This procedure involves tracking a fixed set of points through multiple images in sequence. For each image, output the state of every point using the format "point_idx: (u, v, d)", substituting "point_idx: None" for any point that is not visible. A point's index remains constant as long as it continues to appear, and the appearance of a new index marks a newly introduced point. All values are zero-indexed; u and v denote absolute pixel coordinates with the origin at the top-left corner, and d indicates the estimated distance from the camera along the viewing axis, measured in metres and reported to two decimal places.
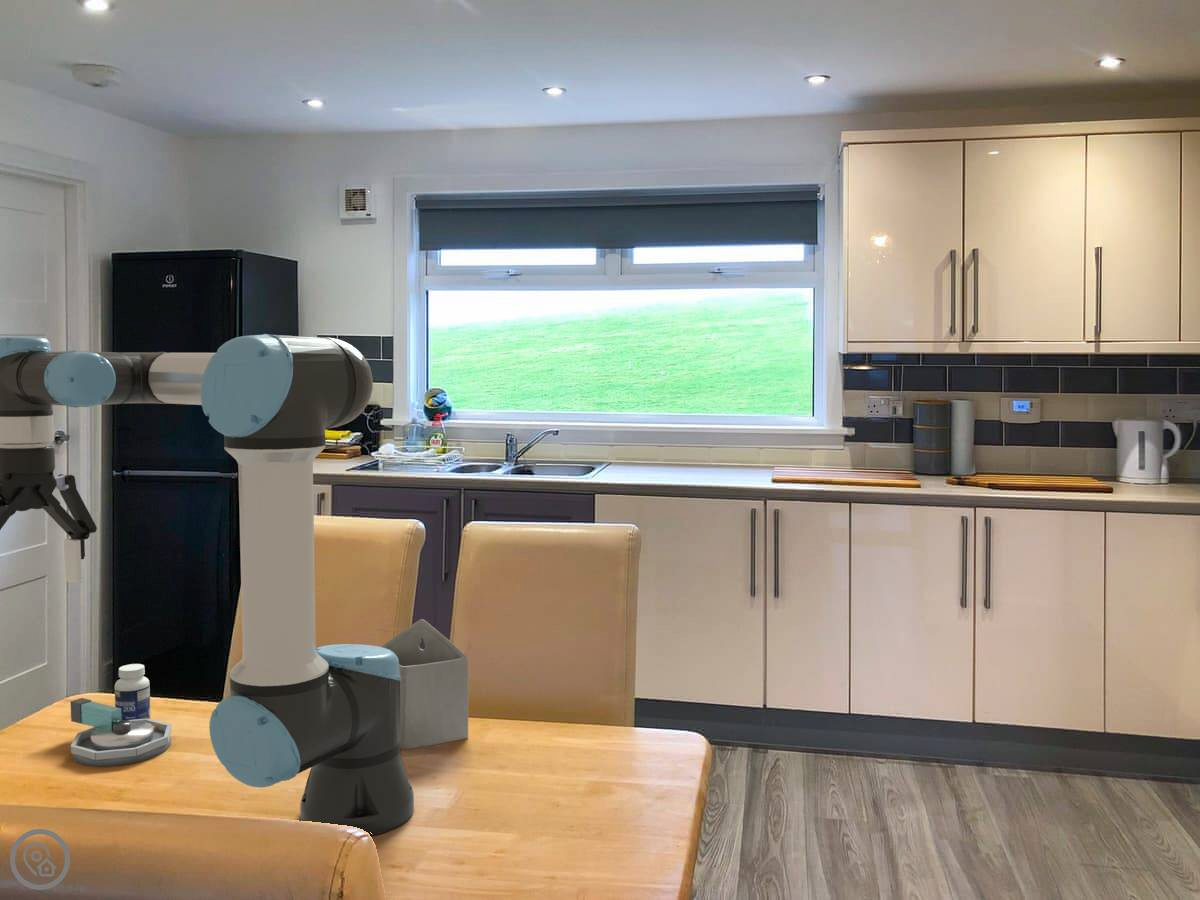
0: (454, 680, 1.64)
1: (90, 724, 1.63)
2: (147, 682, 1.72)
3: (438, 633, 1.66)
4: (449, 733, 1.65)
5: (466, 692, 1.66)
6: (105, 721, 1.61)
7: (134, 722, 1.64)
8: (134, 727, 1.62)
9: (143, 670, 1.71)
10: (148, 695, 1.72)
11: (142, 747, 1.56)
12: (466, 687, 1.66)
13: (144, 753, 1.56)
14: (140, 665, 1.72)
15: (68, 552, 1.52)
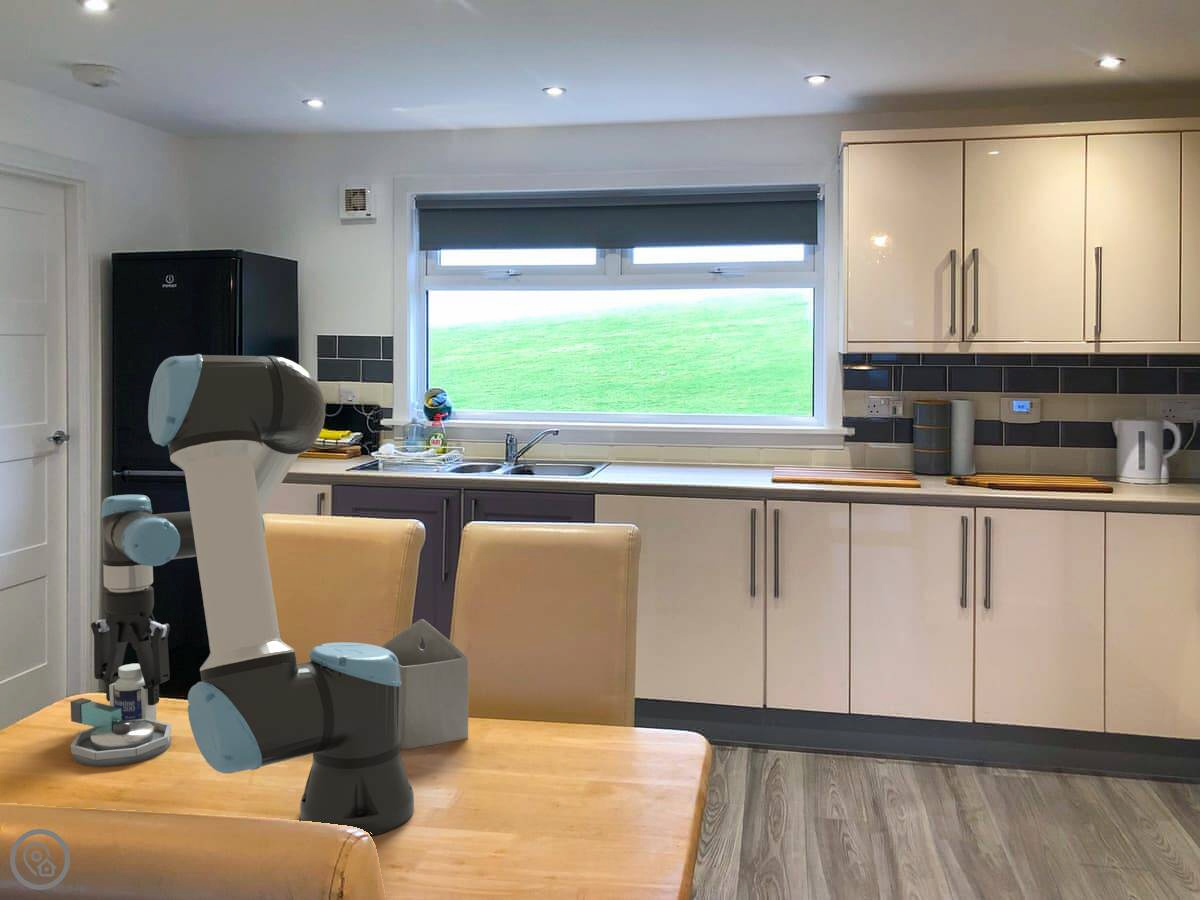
0: (454, 680, 1.64)
1: (90, 724, 1.63)
2: None
3: (438, 633, 1.66)
4: (449, 733, 1.65)
5: (466, 692, 1.66)
6: (105, 721, 1.61)
7: (134, 722, 1.64)
8: (134, 727, 1.62)
9: None
10: None
11: (142, 747, 1.56)
12: (466, 687, 1.66)
13: (144, 753, 1.56)
14: None
15: None
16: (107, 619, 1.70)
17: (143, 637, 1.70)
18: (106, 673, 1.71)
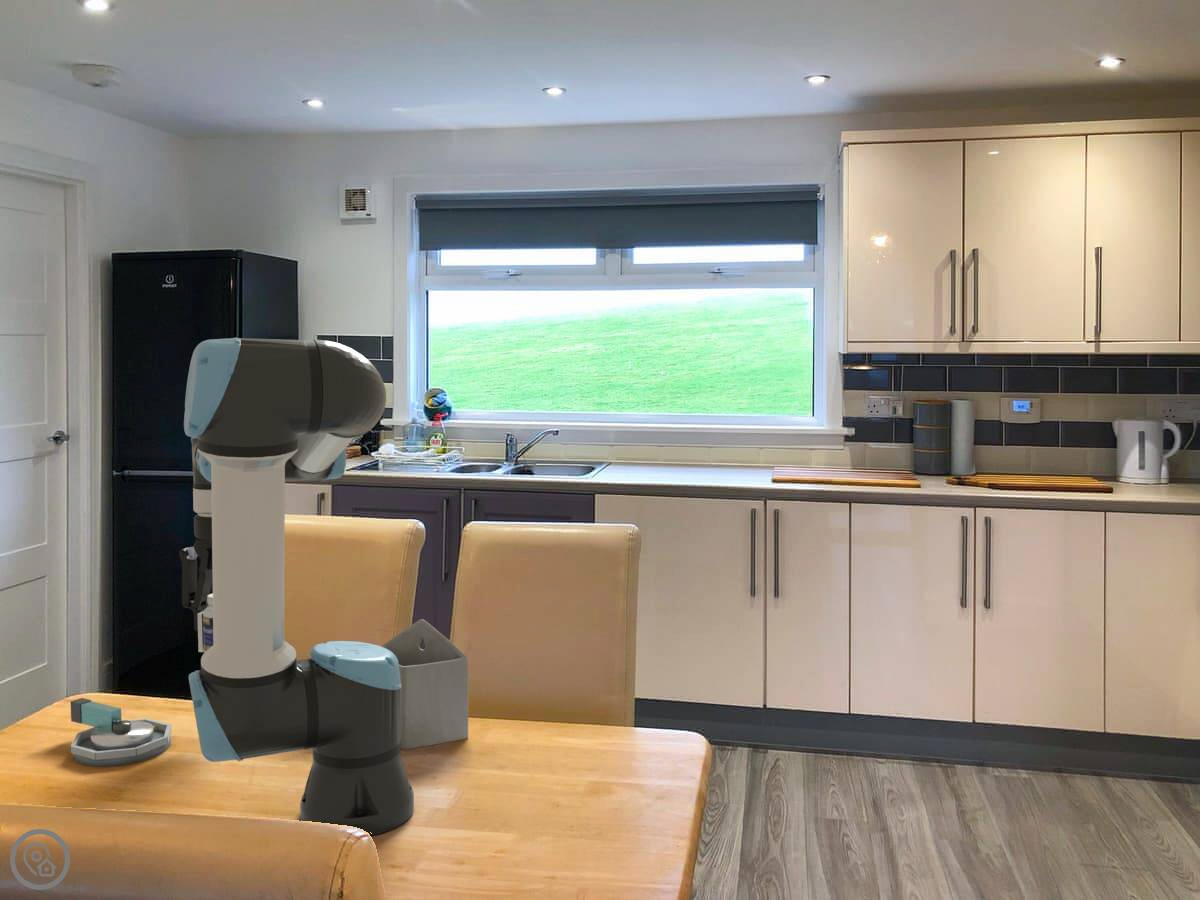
0: (454, 680, 1.64)
1: (90, 724, 1.63)
2: None
3: (438, 633, 1.66)
4: (449, 733, 1.65)
5: (466, 692, 1.66)
6: (105, 721, 1.61)
7: (134, 722, 1.64)
8: (134, 727, 1.62)
9: None
10: None
11: (142, 747, 1.56)
12: (466, 687, 1.66)
13: (144, 753, 1.56)
14: None
15: None
16: (196, 546, 1.67)
17: None
18: (194, 601, 1.68)
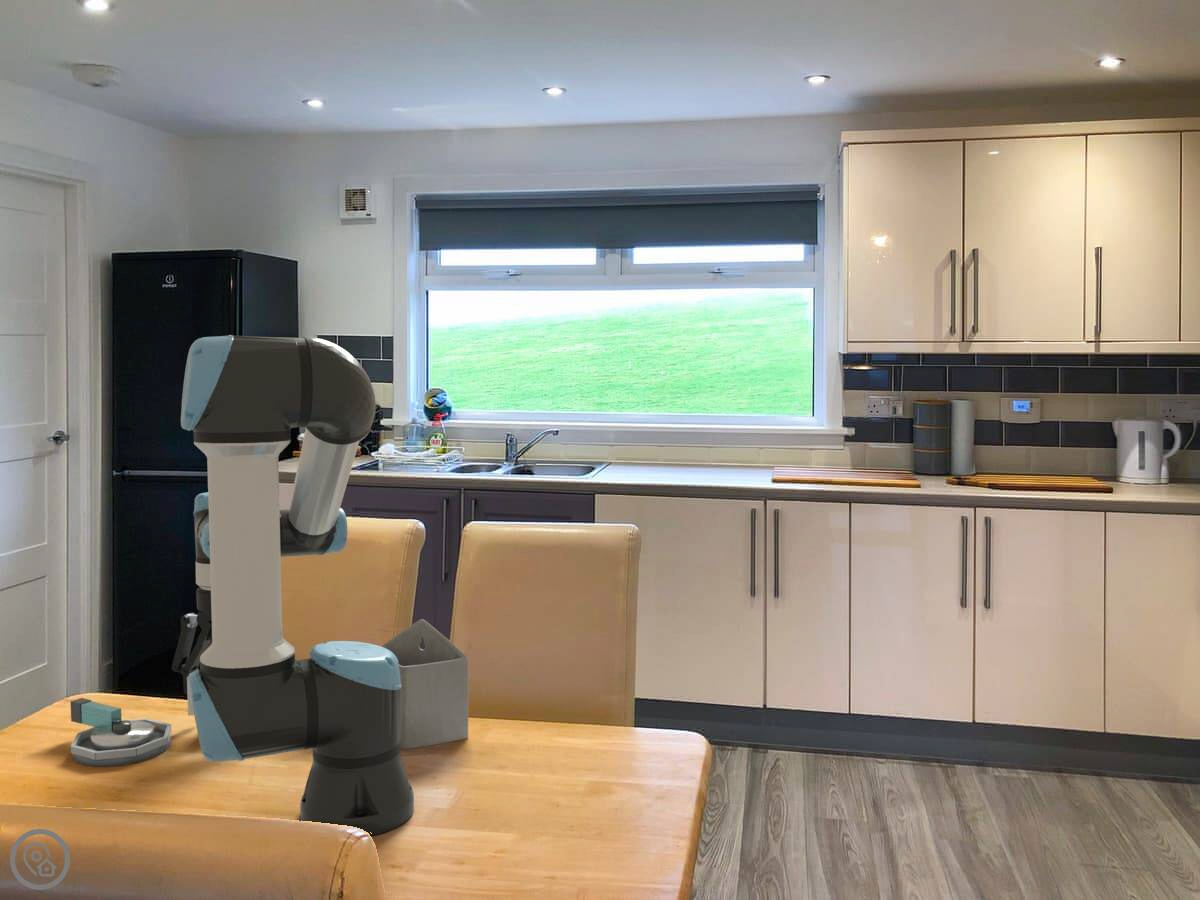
0: (454, 680, 1.64)
1: (90, 724, 1.63)
2: None
3: (438, 633, 1.66)
4: (449, 733, 1.65)
5: (466, 692, 1.66)
6: (105, 721, 1.61)
7: (134, 722, 1.64)
8: (134, 727, 1.62)
9: None
10: None
11: (142, 747, 1.56)
12: (466, 687, 1.66)
13: (144, 753, 1.56)
14: None
15: None
16: (199, 617, 1.68)
17: None
18: (185, 666, 1.69)
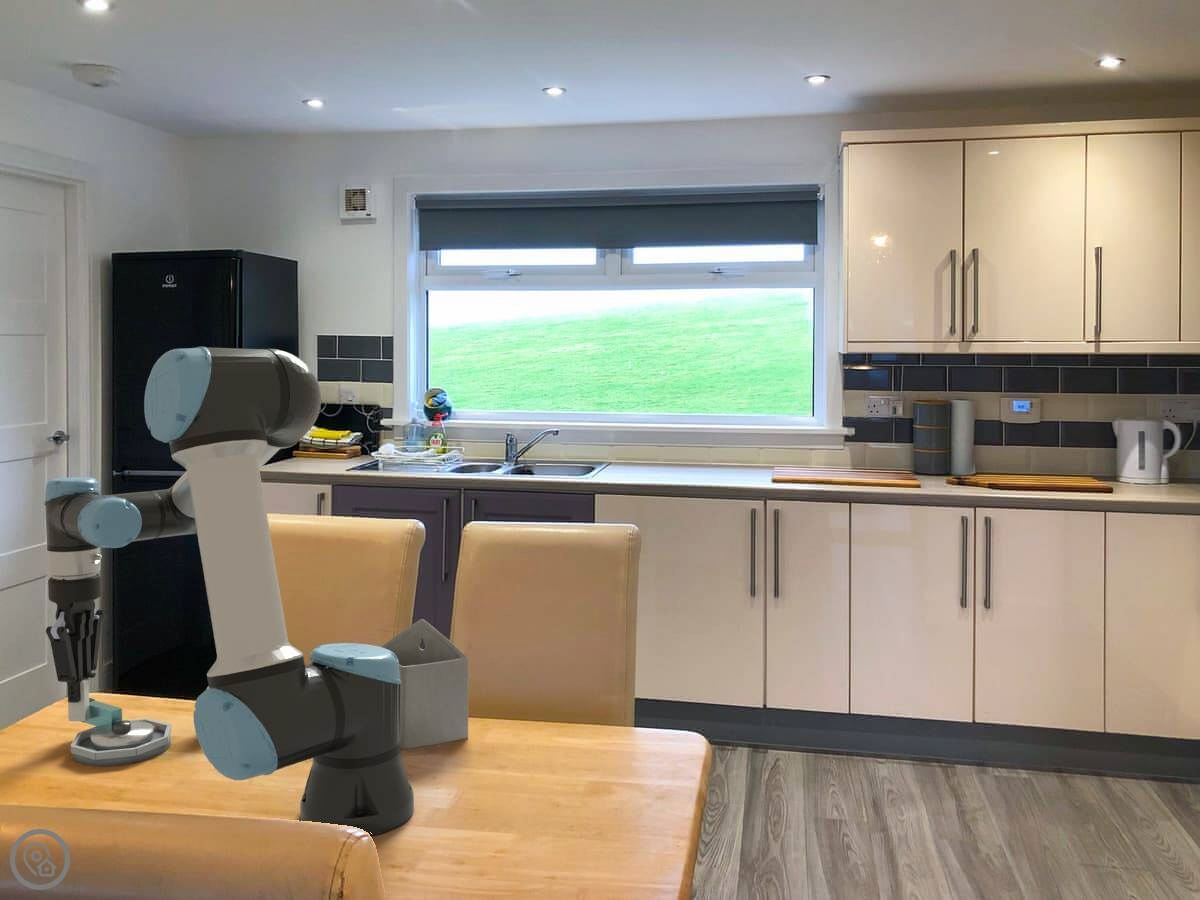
0: (454, 680, 1.64)
1: (92, 723, 1.63)
2: None
3: (438, 633, 1.66)
4: (449, 733, 1.65)
5: (466, 692, 1.66)
6: (106, 721, 1.61)
7: (135, 722, 1.64)
8: (134, 727, 1.62)
9: None
10: None
11: (142, 747, 1.56)
12: (466, 687, 1.66)
13: (144, 753, 1.56)
14: None
15: None
16: None
17: (67, 631, 1.59)
18: None
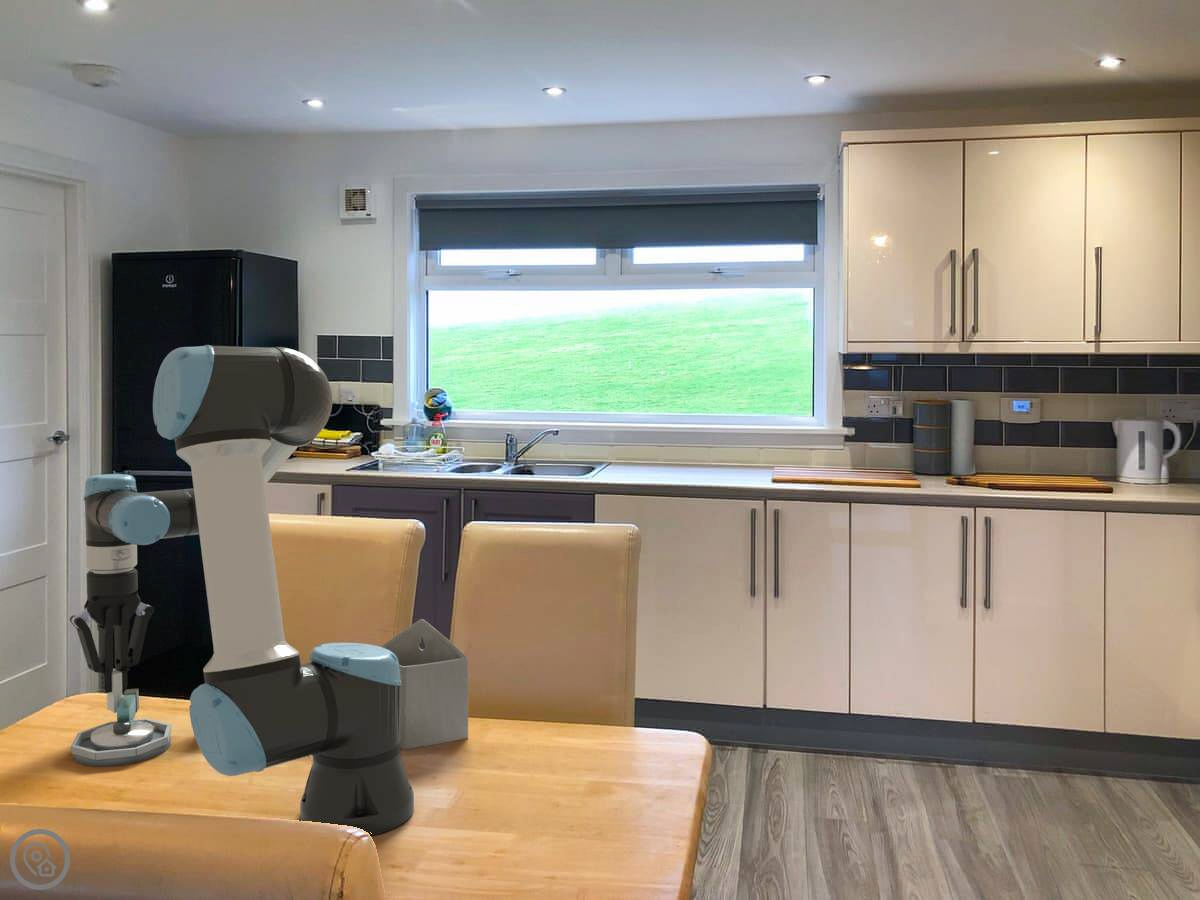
0: (454, 680, 1.64)
1: None
2: None
3: (438, 633, 1.66)
4: (449, 733, 1.65)
5: (466, 692, 1.66)
6: None
7: (147, 725, 1.63)
8: (136, 730, 1.61)
9: None
10: None
11: (142, 747, 1.56)
12: (466, 687, 1.66)
13: (144, 753, 1.56)
14: None
15: None
16: None
17: None
18: None
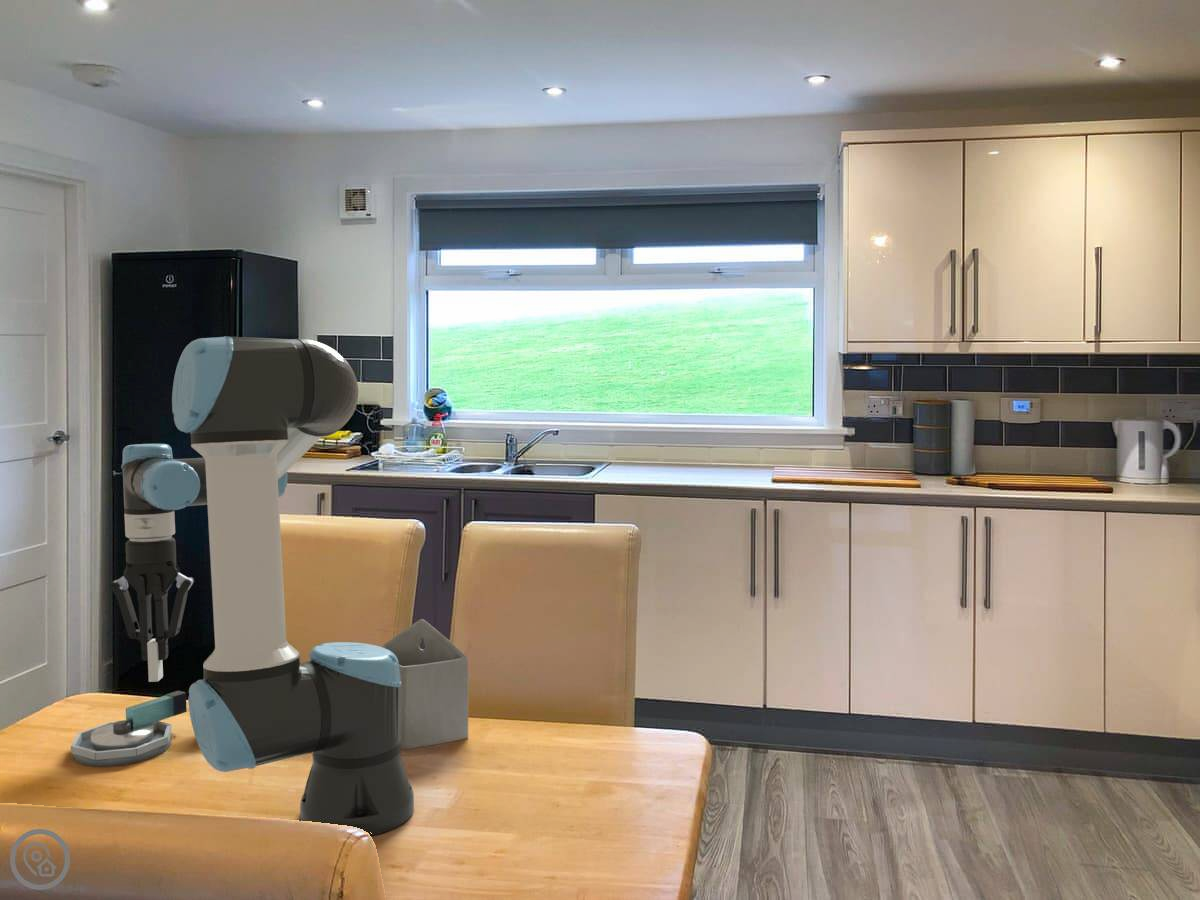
0: (454, 680, 1.64)
1: None
2: None
3: (438, 633, 1.66)
4: (449, 733, 1.65)
5: (466, 692, 1.66)
6: None
7: (145, 732, 1.60)
8: (130, 733, 1.59)
9: None
10: None
11: (142, 747, 1.56)
12: (466, 687, 1.66)
13: (144, 753, 1.56)
14: None
15: None
16: None
17: None
18: None
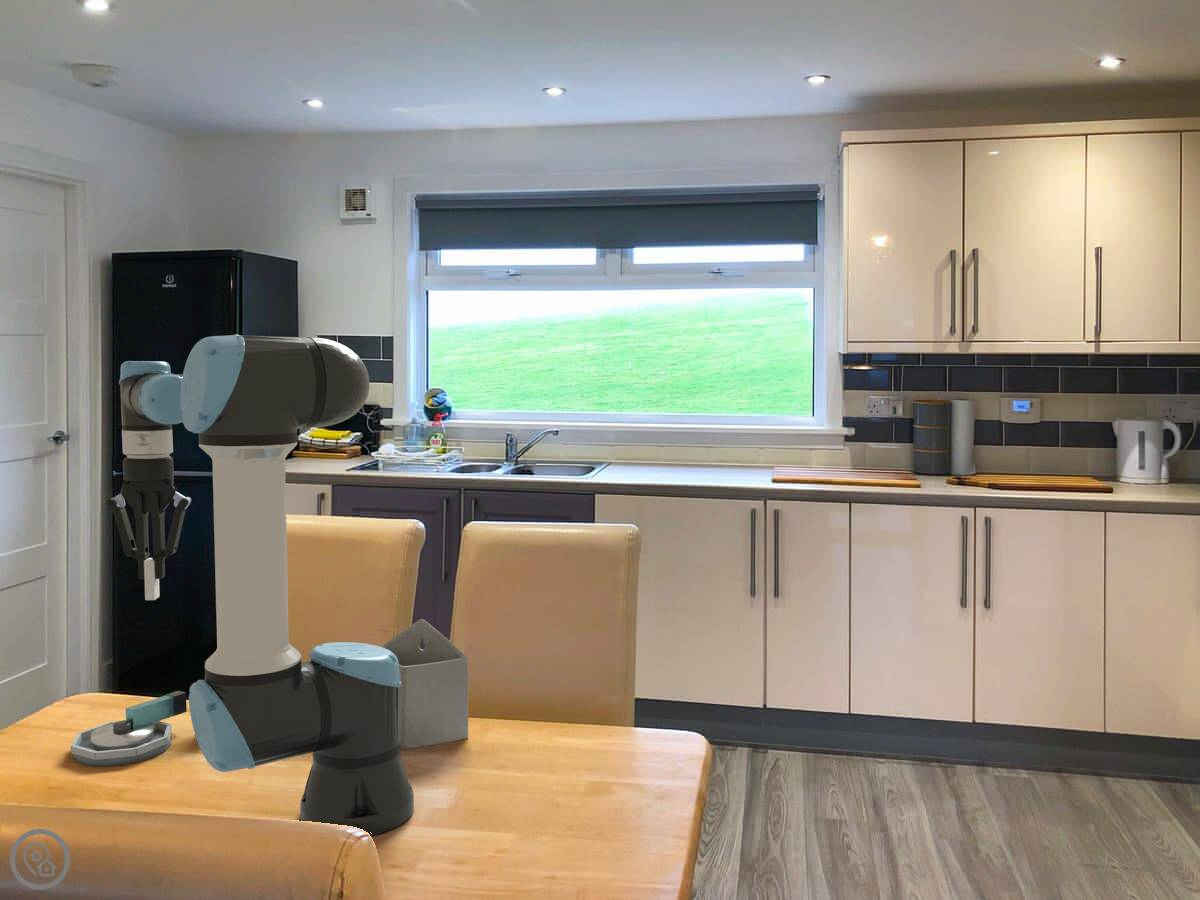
0: (454, 680, 1.64)
1: None
2: None
3: (438, 633, 1.66)
4: (449, 733, 1.65)
5: (466, 692, 1.66)
6: None
7: (145, 732, 1.60)
8: (130, 733, 1.59)
9: None
10: None
11: (142, 747, 1.56)
12: (466, 687, 1.66)
13: (144, 753, 1.56)
14: None
15: None
16: None
17: None
18: None
